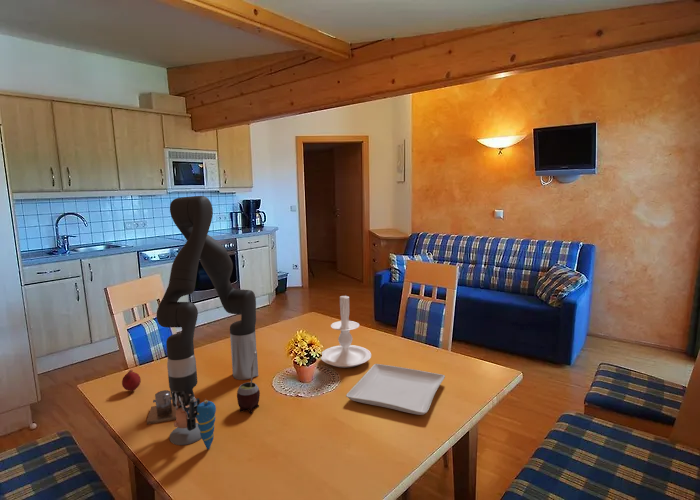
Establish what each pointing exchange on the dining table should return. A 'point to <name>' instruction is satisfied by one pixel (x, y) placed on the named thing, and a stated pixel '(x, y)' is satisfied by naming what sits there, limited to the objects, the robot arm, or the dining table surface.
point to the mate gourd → (248, 395)
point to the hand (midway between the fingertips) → (187, 425)
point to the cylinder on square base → (162, 408)
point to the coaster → (185, 436)
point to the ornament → (206, 421)
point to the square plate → (397, 388)
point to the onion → (131, 381)
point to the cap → (181, 418)
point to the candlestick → (345, 342)
